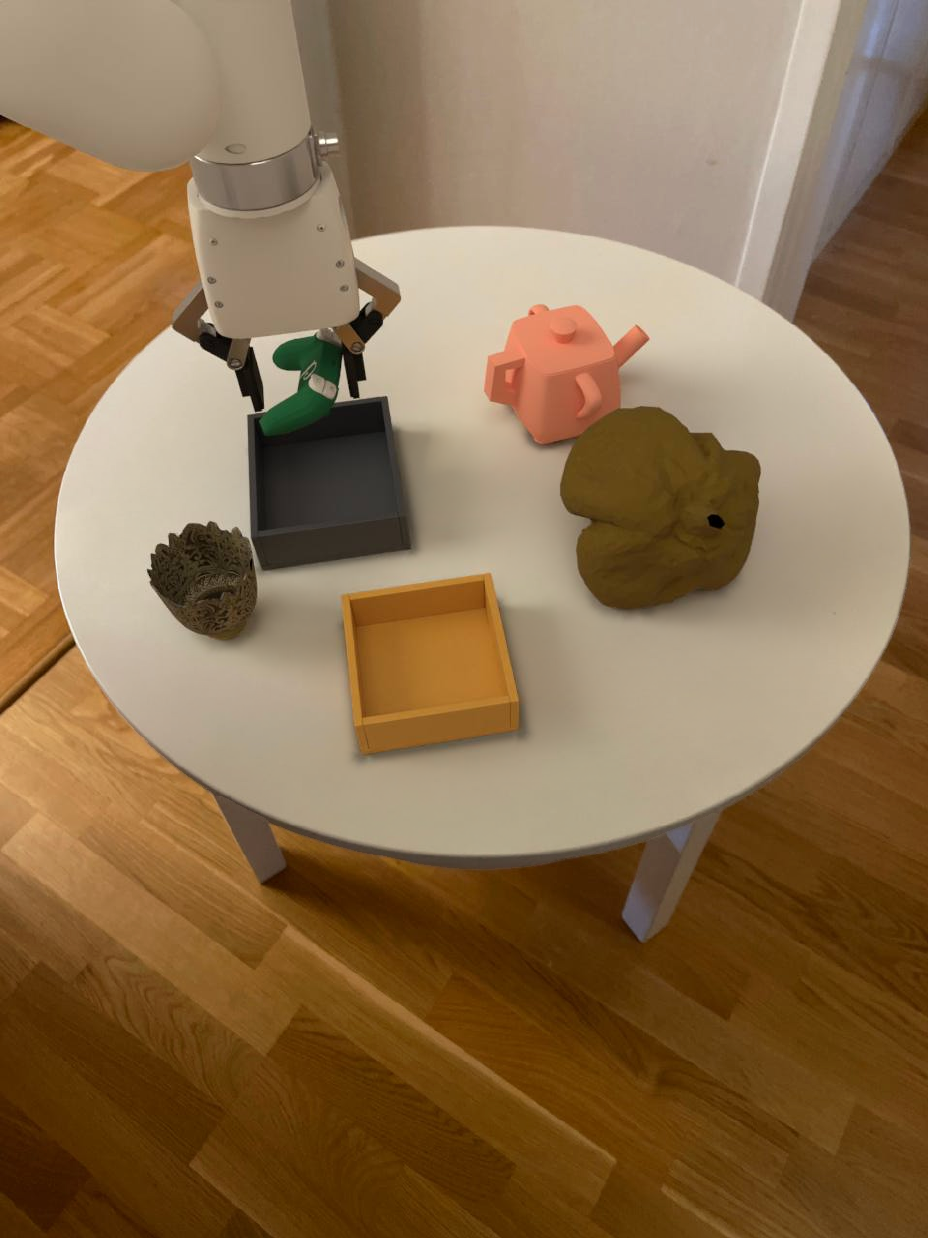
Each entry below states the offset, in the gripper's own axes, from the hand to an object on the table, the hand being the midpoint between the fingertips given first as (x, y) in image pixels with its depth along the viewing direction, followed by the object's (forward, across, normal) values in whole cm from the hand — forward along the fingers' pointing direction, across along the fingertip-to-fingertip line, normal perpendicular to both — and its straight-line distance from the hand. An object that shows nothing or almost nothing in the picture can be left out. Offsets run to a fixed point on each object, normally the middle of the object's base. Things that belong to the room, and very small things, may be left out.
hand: (306, 391), depth 70 cm
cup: (+12, +9, +12) cm, 19 cm away
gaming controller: (+1, 0, 0) cm, 1 cm away
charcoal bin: (+11, 0, 0) cm, 11 cm away
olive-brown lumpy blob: (+12, -25, +13) cm, 31 cm away
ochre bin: (+11, -6, +20) cm, 23 cm away
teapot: (+12, -22, -6) cm, 26 cm away
